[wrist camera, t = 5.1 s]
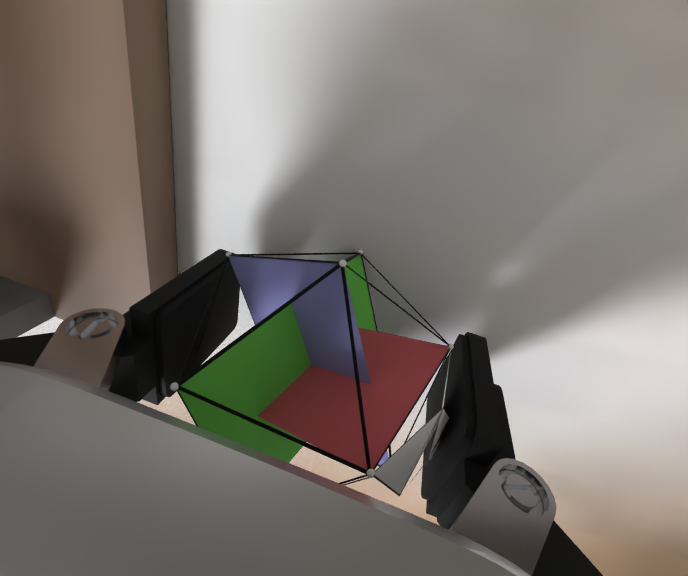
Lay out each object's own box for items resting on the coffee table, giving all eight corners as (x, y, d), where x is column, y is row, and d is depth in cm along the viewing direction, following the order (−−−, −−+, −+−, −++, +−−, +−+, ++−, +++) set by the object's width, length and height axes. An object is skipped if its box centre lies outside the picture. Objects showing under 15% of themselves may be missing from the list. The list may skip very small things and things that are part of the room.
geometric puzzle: (222, 414, 14) (244, 673, 7) (144, 260, 11) (46, 435, 4) (377, 346, 16) (520, 496, 9) (346, 198, 13) (522, 245, 6)
